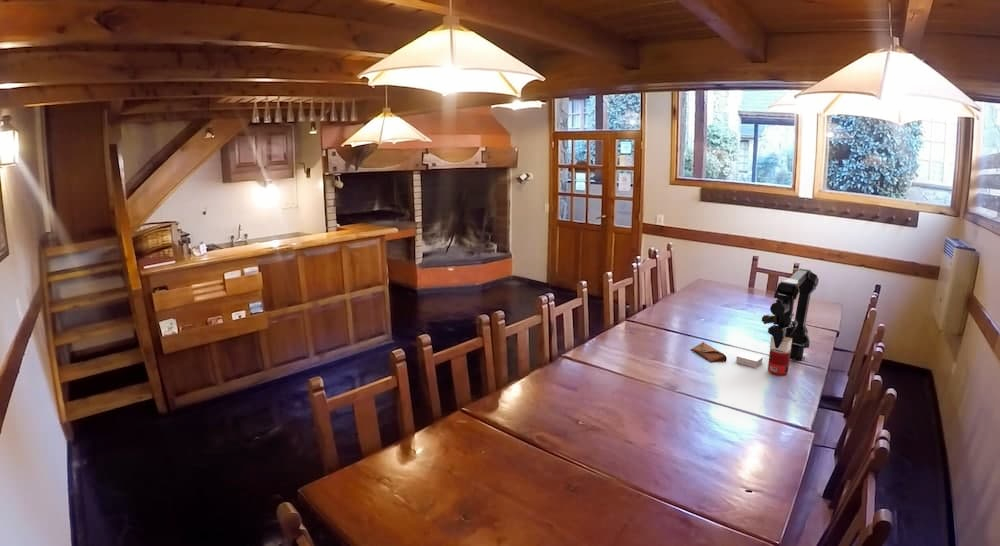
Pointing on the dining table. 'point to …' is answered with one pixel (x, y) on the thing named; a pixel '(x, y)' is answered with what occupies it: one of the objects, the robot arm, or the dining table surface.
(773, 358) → the canned food
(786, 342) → the cream box
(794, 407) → the dining table surface
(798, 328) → the robot arm
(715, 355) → the sunglasses case
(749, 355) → the pale pink chamfered block
